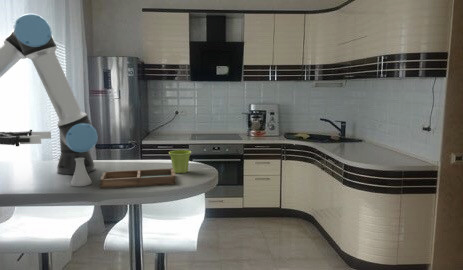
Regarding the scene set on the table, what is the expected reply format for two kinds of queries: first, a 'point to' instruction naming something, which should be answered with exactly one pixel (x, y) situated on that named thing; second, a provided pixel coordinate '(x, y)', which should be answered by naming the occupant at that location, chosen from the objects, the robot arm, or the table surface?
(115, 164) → the table surface
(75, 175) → the flask
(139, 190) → the table surface
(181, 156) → the plant pot
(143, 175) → the walnut caddy
